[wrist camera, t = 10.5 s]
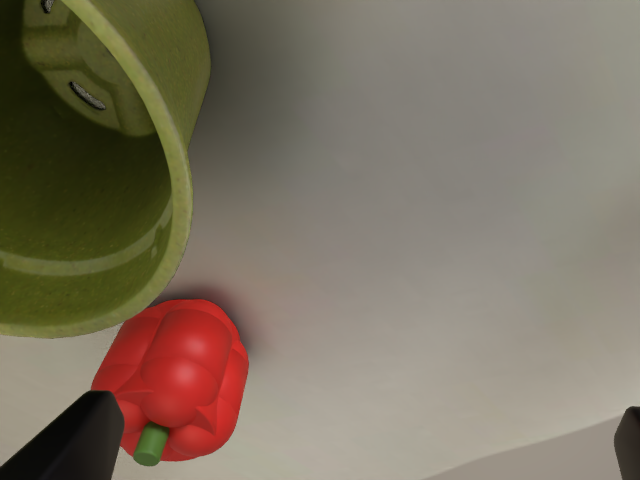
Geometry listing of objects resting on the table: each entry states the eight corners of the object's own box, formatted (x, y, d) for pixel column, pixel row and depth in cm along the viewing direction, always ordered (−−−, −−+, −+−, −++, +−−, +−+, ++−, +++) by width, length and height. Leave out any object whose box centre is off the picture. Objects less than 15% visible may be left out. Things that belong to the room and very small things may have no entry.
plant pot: (174, 216, 21) (76, 392, 14) (-64, 62, 18) (-348, 188, 11) (320, 28, 16) (287, 147, 9) (34, -222, 13) (-350, -335, 6)
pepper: (277, 314, 23) (252, 447, 18) (228, 385, 27) (193, 517, 21) (152, 260, 22) (84, 386, 17) (116, 342, 25) (48, 471, 20)
